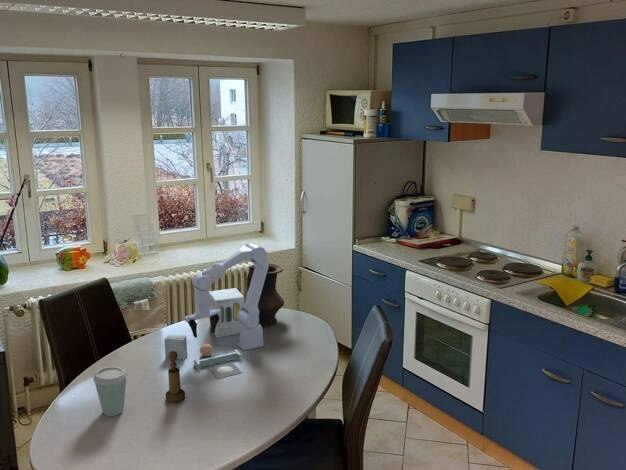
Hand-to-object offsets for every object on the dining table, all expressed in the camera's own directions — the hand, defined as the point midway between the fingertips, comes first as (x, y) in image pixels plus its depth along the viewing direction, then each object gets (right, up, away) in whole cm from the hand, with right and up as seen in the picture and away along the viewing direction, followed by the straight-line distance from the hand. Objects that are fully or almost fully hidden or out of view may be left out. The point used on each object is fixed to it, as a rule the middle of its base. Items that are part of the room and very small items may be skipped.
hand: (204, 334), depth 235 cm
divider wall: (+6, -10, -3) cm, 13 cm away
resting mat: (+10, -12, -10) cm, 19 cm away
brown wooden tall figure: (-4, -17, -31) cm, 36 cm away
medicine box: (-12, -9, +2) cm, 15 cm away
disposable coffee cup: (-23, -19, -40) cm, 50 cm away
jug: (+21, -1, +37) cm, 42 cm away
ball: (0, -9, +2) cm, 9 cm away
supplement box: (+5, -3, +28) cm, 29 cm away
